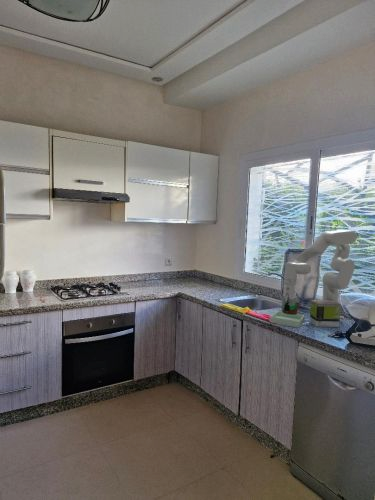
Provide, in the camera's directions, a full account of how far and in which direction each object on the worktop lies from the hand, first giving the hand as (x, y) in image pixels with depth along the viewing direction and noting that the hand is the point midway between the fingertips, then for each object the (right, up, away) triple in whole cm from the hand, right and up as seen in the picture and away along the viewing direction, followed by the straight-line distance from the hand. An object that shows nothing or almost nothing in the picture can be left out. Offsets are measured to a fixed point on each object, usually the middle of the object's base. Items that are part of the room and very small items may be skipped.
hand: (287, 309), depth 222 cm
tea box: (+22, -9, -2) cm, 24 cm away
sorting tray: (0, -8, +1) cm, 8 cm away
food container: (0, -3, -1) cm, 3 cm away
